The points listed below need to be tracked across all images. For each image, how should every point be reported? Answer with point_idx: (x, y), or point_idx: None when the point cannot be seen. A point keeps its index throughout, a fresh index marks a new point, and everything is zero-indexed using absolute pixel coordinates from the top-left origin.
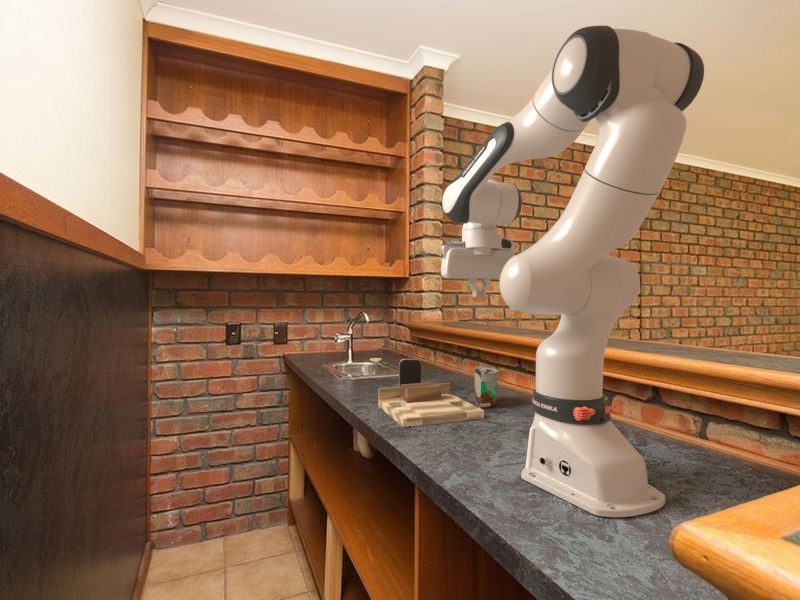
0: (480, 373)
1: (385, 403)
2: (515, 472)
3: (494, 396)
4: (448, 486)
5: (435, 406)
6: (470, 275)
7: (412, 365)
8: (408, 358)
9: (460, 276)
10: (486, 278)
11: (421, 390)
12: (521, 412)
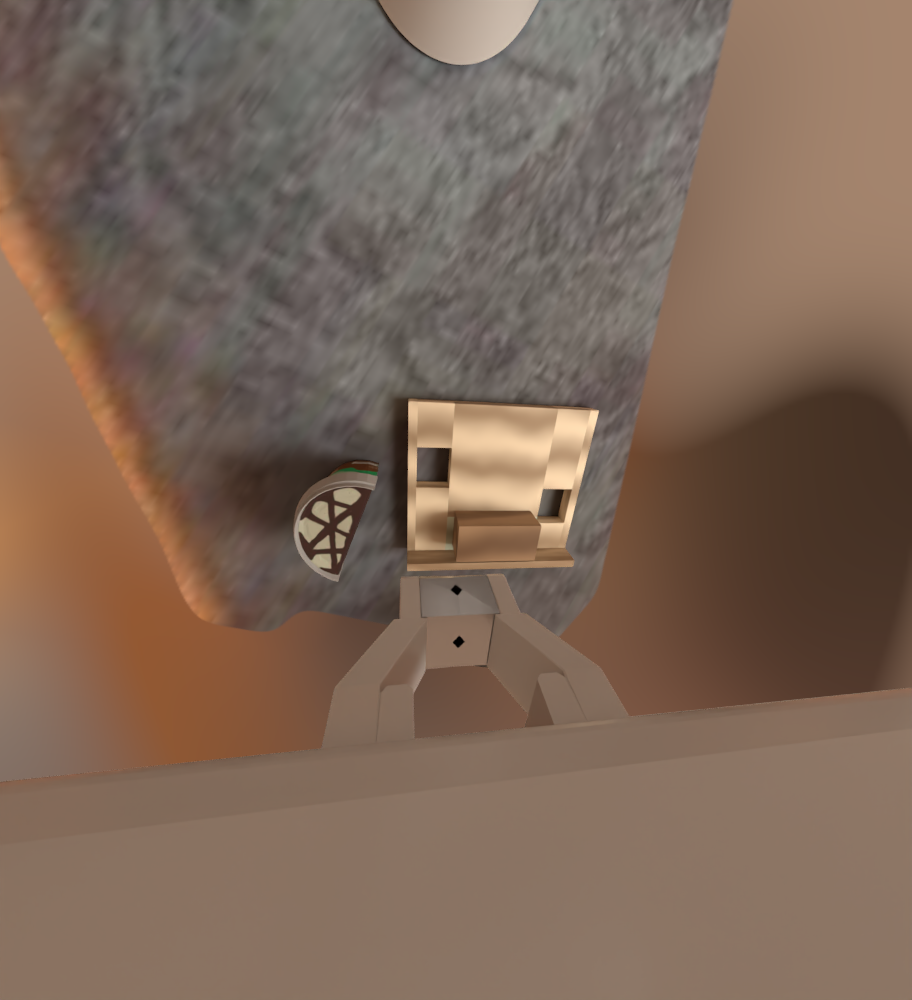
0: (356, 519)
1: (568, 520)
2: (561, 13)
3: (333, 473)
4: (716, 34)
5: (492, 469)
6: (749, 740)
7: None
8: (481, 665)
9: (870, 708)
10: (407, 741)
11: (506, 522)
12: (293, 406)
